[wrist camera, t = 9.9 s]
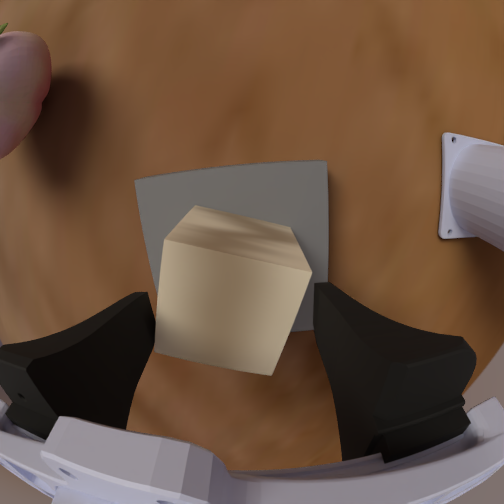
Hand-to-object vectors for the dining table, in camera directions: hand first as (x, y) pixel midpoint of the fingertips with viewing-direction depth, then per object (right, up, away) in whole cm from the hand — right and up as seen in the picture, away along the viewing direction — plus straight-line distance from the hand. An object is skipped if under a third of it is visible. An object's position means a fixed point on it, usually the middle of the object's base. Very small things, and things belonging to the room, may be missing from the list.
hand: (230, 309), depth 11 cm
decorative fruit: (-16, +15, +3) cm, 22 cm away
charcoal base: (0, +3, +7) cm, 8 cm away
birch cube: (0, +2, +5) cm, 5 cm away
